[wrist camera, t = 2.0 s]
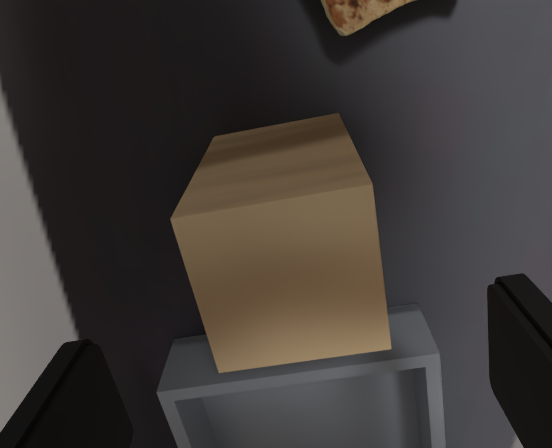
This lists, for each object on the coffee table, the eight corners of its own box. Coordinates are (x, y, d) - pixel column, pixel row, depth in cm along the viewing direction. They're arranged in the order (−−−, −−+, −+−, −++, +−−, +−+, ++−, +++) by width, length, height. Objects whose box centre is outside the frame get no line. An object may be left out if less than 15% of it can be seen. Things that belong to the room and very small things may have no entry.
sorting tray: (173, 338, 23) (156, 392, 20) (417, 302, 22) (439, 353, 19) (231, 501, 28) (224, 564, 25) (432, 478, 27) (451, 541, 24)
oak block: (214, 136, 19) (170, 218, 12) (338, 112, 19) (372, 184, 11) (241, 245, 21) (218, 373, 14) (354, 226, 21) (391, 348, 13)
